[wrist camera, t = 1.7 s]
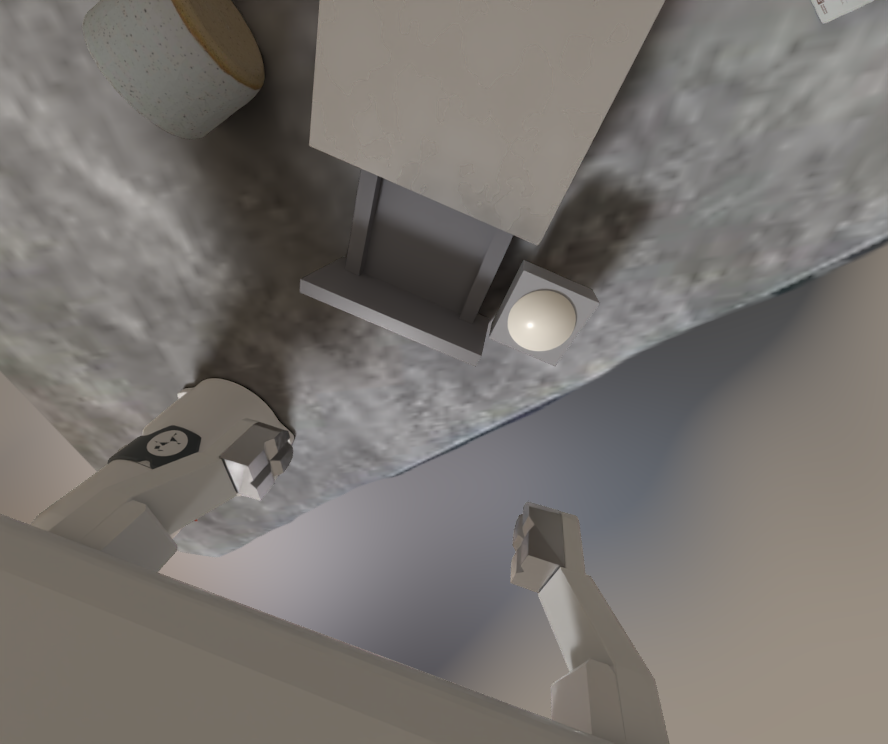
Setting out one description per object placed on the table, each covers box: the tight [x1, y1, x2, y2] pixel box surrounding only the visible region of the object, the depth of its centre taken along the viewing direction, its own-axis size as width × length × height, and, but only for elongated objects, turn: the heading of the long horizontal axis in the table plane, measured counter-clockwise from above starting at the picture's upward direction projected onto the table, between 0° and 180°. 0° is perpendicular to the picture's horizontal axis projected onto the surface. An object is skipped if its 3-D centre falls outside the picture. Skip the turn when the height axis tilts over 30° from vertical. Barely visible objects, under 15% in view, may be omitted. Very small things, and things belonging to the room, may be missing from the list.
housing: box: [309, 0, 665, 246], centre depth 19 cm, size 14×16×8 cm
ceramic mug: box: [82, 0, 265, 139], centre depth 22 cm, size 11×8×8 cm
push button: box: [489, 260, 600, 366], centre depth 25 cm, size 6×6×3 cm
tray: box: [299, 169, 513, 367], centre depth 26 cm, size 15×16×8 cm
